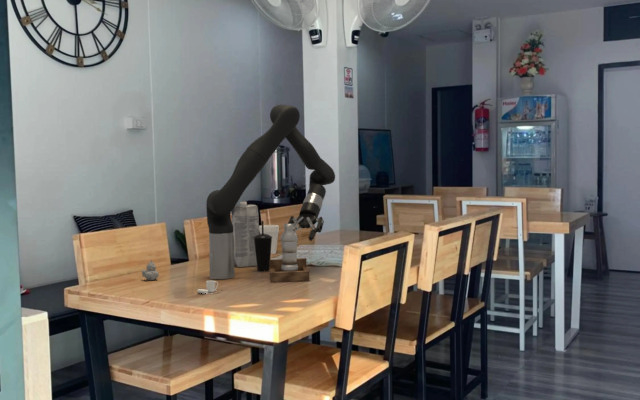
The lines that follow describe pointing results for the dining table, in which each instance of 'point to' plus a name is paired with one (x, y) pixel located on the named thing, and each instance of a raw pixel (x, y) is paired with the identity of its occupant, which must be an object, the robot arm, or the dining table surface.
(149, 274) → the rubber duck
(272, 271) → the drawer
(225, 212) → the robot arm
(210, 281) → the teacup and saucer
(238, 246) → the juice carton
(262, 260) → the drinking cup
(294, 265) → the plastic bottle
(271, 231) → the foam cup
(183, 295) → the dining table surface
